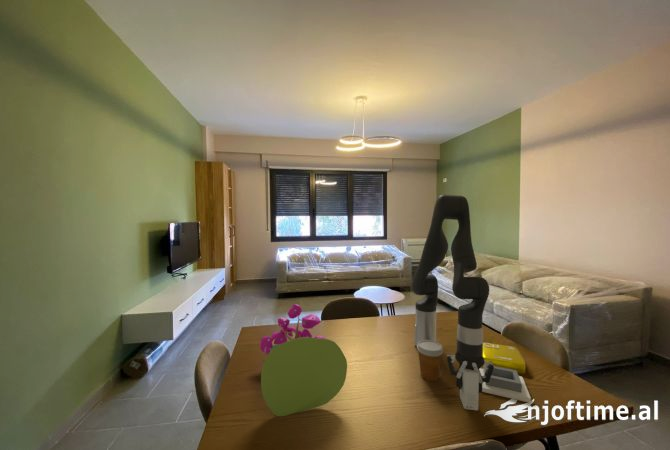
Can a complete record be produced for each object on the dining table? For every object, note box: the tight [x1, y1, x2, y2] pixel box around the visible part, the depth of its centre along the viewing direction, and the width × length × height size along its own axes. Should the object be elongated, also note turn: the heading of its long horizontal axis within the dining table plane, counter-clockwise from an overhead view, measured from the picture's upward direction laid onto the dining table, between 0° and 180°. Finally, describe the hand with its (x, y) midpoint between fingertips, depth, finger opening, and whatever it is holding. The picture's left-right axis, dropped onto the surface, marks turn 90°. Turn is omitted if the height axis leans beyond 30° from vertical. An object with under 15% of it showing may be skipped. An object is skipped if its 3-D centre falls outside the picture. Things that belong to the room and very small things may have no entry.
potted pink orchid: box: [259, 303, 348, 417], centre depth 103 cm, size 30×28×35 cm
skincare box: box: [459, 369, 480, 411], centre depth 88 cm, size 6×4×12 cm
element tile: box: [482, 341, 526, 374], centre depth 114 cm, size 15×15×5 cm
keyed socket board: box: [479, 365, 532, 404], centre depth 97 cm, size 15×13×4 cm
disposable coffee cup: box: [416, 340, 444, 381], centre depth 103 cm, size 10×10×12 cm
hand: (469, 389), depth 88 cm, fingers closed on skincare box, 4 cm apart
